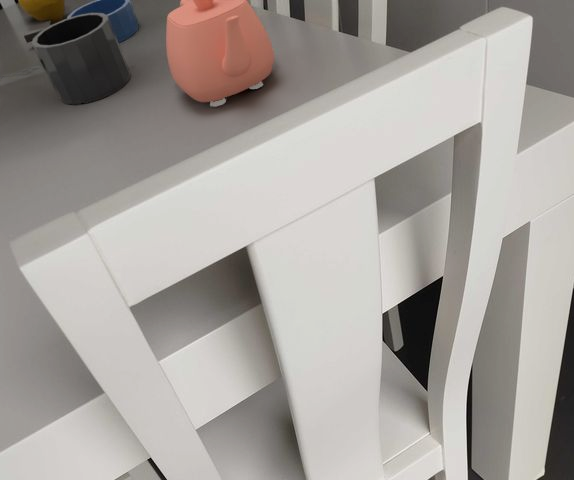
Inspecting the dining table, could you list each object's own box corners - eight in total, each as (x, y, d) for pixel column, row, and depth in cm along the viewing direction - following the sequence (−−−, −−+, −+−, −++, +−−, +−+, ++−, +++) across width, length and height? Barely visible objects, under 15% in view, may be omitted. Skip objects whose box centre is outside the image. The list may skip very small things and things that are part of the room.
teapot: (214, 134, 74) (182, 33, 65) (164, 86, 87) (131, -4, 78) (307, 93, 76) (287, -11, 67) (244, 52, 89) (221, -39, 80)
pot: (57, 112, 89) (28, 55, 83) (62, 82, 97) (35, 28, 91) (131, 90, 89) (107, 30, 82) (130, 61, 97) (108, 5, 90)
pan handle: (27, 43, 105) (23, 36, 104) (27, 40, 106) (24, 33, 106) (69, 29, 105) (66, 22, 104) (70, 27, 106) (67, 19, 105)
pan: (77, 56, 104) (64, 29, 101) (79, 34, 112) (68, 8, 109) (140, 36, 104) (129, 9, 100) (138, 16, 112) (128, -10, 108)
